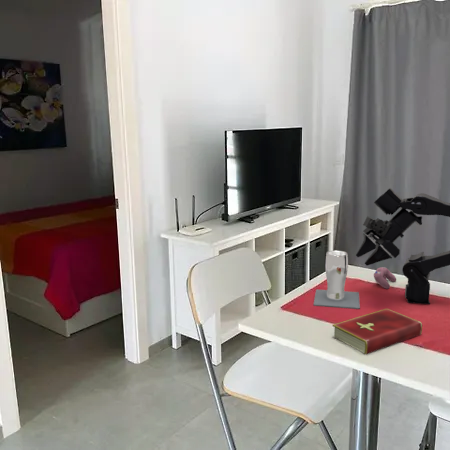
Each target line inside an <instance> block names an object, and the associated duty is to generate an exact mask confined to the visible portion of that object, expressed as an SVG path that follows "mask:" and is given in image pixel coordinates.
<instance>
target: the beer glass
mask: <svg viewBox="0 0 450 450" xmlns="http://www.w3.org/2000/svg"><path fill="white" fill-rule="evenodd" d="M325 255H326V256H325V276H326V283H327V285H326V286H327V288H326V290H327V293H326V298H327V299H329V300H332V301H342V300H344V299H345V292H344V291H345V285H346V279H347V276H348V268H349V257H348V256H349V255H348V252H346V251H343V250H328V251H326V254H325Z"/></svg>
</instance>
